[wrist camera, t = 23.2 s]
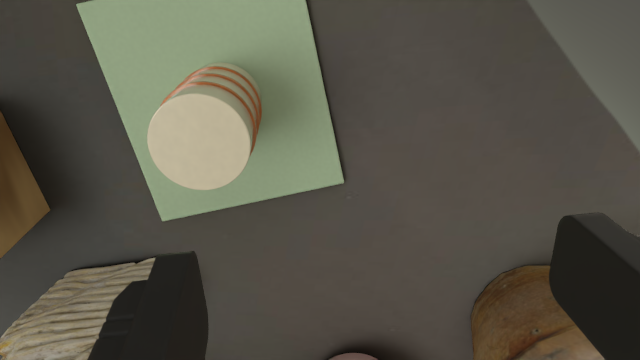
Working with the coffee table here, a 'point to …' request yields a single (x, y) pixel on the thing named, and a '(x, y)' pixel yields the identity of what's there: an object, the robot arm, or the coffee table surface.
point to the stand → (16, 193)
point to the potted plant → (525, 321)
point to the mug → (353, 357)
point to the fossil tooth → (70, 314)
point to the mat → (228, 47)
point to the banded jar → (206, 127)
